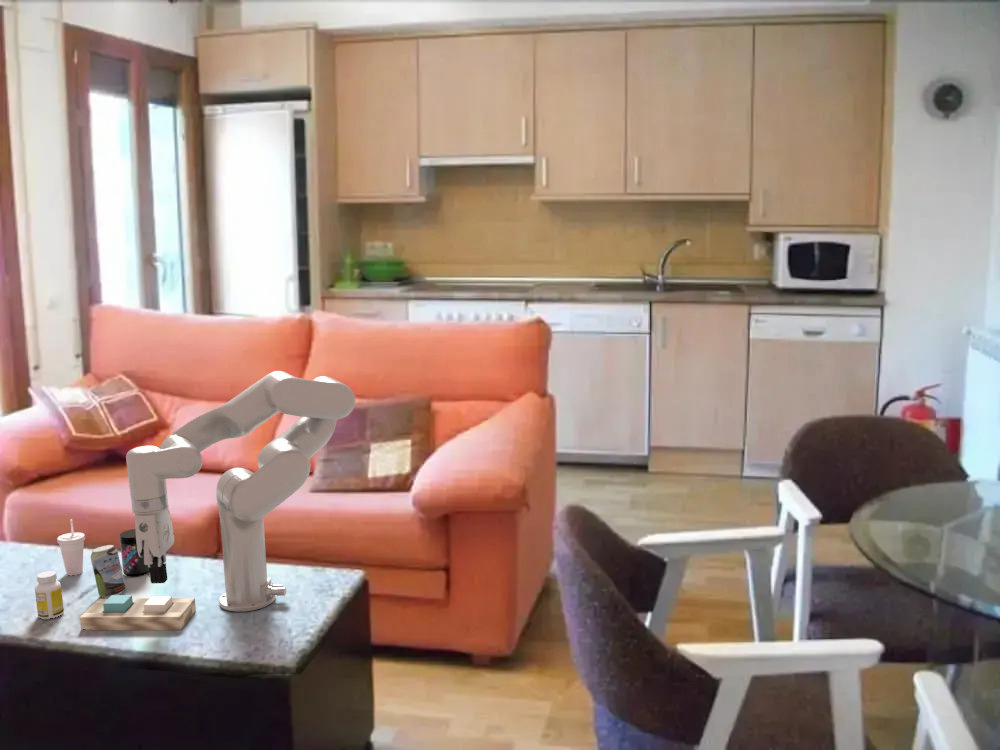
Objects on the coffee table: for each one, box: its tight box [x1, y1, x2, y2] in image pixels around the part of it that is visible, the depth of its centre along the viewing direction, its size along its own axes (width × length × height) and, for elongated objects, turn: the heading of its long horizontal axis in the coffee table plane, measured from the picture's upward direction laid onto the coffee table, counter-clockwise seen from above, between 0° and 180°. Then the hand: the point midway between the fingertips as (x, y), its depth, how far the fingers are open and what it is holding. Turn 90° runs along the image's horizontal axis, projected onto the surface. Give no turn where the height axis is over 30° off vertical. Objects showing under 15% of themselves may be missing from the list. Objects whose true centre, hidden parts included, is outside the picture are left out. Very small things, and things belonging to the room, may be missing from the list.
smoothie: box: [56, 518, 86, 577], centre depth 248 cm, size 6×6×14 cm
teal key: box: [103, 594, 133, 613], centre depth 221 cm, size 5×5×3 cm
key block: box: [79, 597, 197, 631], centre depth 221 cm, size 22×10×3 cm, turn 88°
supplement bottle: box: [34, 570, 65, 620], centre depth 224 cm, size 5×5×10 cm
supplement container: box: [119, 528, 150, 578], centre depth 248 cm, size 7×7×10 cm
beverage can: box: [90, 544, 126, 599], centre depth 234 cm, size 6×7×12 cm
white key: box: [144, 595, 173, 613], centre depth 220 cm, size 5×5×3 cm
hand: (159, 581), depth 220 cm, fingers closed
